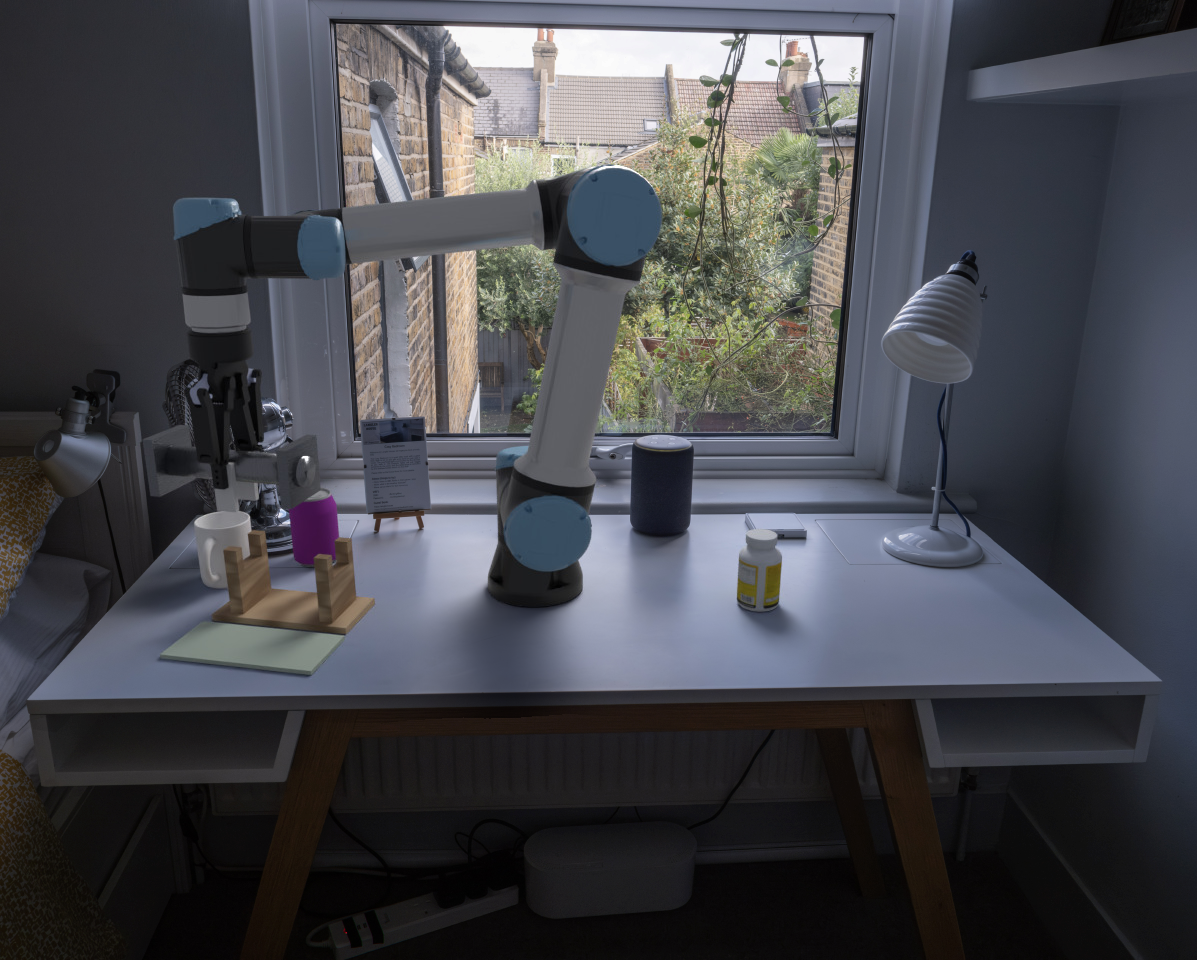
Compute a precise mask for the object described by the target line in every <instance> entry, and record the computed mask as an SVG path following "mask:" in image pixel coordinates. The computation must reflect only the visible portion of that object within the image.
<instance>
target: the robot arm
mask: <svg viewBox="0 0 1197 960" xmlns="http://www.w3.org/2000/svg"><path fill="white" fill-rule="evenodd" d="M662 211H663V210H662V205H661V201H660V199H659V197H658V194H657V192H656V190H655V189H654V187H653V185H652V184H651V183H650V182H649V180H648V179H646V177H644V176H643V175H641V174H640V173H638V172H637V171H635V170H634V169H632V168H629V167H626V166H623V165H619V164H618V165H617V164H610V163H606V164H601V165H594V166H587V167H583V168H581V169H578V170H576V171H571V172H569V173H565V174H561V175H556V176H552V177H544V178H536V179H531V181H529V183H528V185H527V186H525V187H524V188H513V189H508V190H507V189H505V190H496V191H495V190H494V191H488V192H486V191H485V192H478V193H468V194H457V195H450V196H449V195H448V196H441V197H433V198H432V197H431V198H429V197H428V198H420V199H412V200H411V199H410V200H402V201H392V202H384V203H375V204H366V205H356V206H348V207H347V206H346V207H341V208H328V209H318V210H317V209H316V210H315V209H307V210H306V209H305V210H299V211H296V212H294V213H293V214H290V215H248V214H242V211H241V209H240V205H239V203H238V201H237V200H236V199H234V198H232V197H231V198H230V197H229V198H227V197H223V198H222V197H221V198H220V197H182V198H178V199H177V200H176V201H175V202H174V204H173V207H172V212H173V213H172V214H173V229H174V230H173V232H174V236H173V241H174V244H175V249H176V250H175V251H176V257H177V263H178V271H179V272H178V273H179V277H180V286H181V293H182V300H183V301H182V302H183V310H184V311H183V312H184V320H185V324H186V325H187V327H189V328H190V329H189V330H187V331H188V332H186V340H187V341H186V342H187V349H188V356H189V358H190V359H191V360H192V361H193V362H195V363H196V364H197V365H198V373H197V383H196V384H195V385H194V386H193V387H191V386H187V387H185V388H184V391H183V395H184V396H185V399H186V401H187V404H188V406H189V412H190V413H189V414H190V419H191V425H192V433H193V439H194V445H195V446H194V447H196V453H197V460H198V462H199V463H207V464H210V466H211V471H212V479H211V480H212V485H213V489H214V495H215V505H216V512H221V511H226V512H238V511H240V505H239V500H244V501H258V500H259V499H260V496H259V488H258V483H251V482H240V481H236V476H235V467H234V463H232V462H229V450H230V437H231V436H230V430H231V432H232V436H233V439H234V444H235V447H236V450H238V451H250V452H262V451H263V444H261V443H263V442H264V440H265V432H264V421H263V420H264V416H263V407H262V406H263V405H262V394H261V393H262V392H261V383H262V378H263V377H262V374H263V372H262V370H261V369H260V368H250V367H249V364H248V363H247V360H249V359H251V358H252V357H253V356H254V343H253V335H252V334H253V333H252V330H251V329H250V328H249V327H247V325H250V323H251V321H252V319H251V313H250V303H249V295H248V287H247V279H253V280H257V279H284V280H285V279H287V280H288V279H289V280H290V279H291V280H292V279H293V280H294V279H295V280H297V279H299V280H313V281H320V280H323V279H324V280H325V279H337V278H340V277H342V276H343V275H344V273H345V269H346V266H348V265H354V264H363V263H371V262H372V263H373V262H380V261H381V262H382V261H391V260H401V259H409V258H419V257H427V256H428V257H429V256H435V255H444V254H446V255H448V254H454V253H463V252H464V253H465V252H472V251H473V252H474V251H482V250H491V249H500V248H508V247H509V248H510V247H518V246H526V245H528V246H529V245H533V246H534V247H536V248H537V249H538V250H539V251H547V250H548V251H549V250H555V252H554V257H553V261H552V265H553V267H554V269H555V271H556V272H557V273H558V274H559V276H560V280H561V281H560V287H559V291H558V295H557V301H556V307H555V312H554V316H553V322H552V327H551V332H550V336H549V342H548V347H547V352H546V357H545V362H544V367H543V372H542V378H541V382H540V387H539V392H538V397H537V402H536V406H535V412H534V418H533V421H532V428H531V431H530V432H531V433H530V438H529V441H528V445H521V446H520V445H519V446H512V447H507V448H504V449H502V450H500V451H499V452H498V453H497V454H496V458H495V467H494V471H495V475H496V476H495V479H496V480H495V481H496V485H495V486H496V515H497V517H496V518H497V523H496V524H497V544H496V548H495V550H494V554H493V558H492V560H491V563H490V567H489V570H488V574H487V590H488V593H489V594H490V595H491V596H492V597H493V598H494V599H496V600H497V601H500V602H503V603H505V604H508V605H512V606H518V607H526V608H528V607H529V608H537V607H538V608H539V607H541V608H543V607H548V606H555V605H560V604H563V603H566V602H568V601H571V600H572V599H575V598H577V596H579V594H581V592H582V591H583V588H584V574H583V570H582V567H581V564H580V561H579V560H580V559H581V558H583V556H584V554H585V553H586V552H587V550H588V548H589V546H590V544H591V540H592V534H593V533H592V532H593V530H592V526H593V524H592V519H591V517H590V509H591V507H592V506H591V505H592V500H593V496H594V491H595V486H596V482H597V476H596V475H595V473H594V472H593V471H592V469H591V468H590V465H589V463H590V459H591V453H592V450H593V449H592V447H593V444H594V441H595V440H594V439H595V435H596V431H597V427H598V421H599V416H600V412H601V408H602V405H603V404H602V402H603V400H604V399H603V398H604V394H605V390H606V384H607V380H608V376H609V371H610V367H611V362H612V358H613V353H614V349H615V348H614V347H615V343H616V339H617V335H618V330H619V325H620V321H621V315H622V311H623V308H624V303H625V297H626V294H627V293H628V292H629V291H630V290H632V289H633V288H635V287H636V286H638V285H639V284H641V280H642V275H643V271H644V267H645V262H646V258H647V254H648V253H649V252H650V251H651V250H652V248H653V247H654V245H655V243H657V239H658V238H659V235H660V232H661V228H662V223H663V222H662V221H663V212H662ZM259 443H260V444H259Z"/></svg>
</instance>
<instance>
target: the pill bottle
mask: <svg viewBox="0 0 1197 960" xmlns="http://www.w3.org/2000/svg"><path fill="white" fill-rule="evenodd" d="M745 543H746V545H744V546H743V547H741V549H740V551H739V552H738V564H737V565H738V567H737V568H738V569H737V584H736V585H737V586H736V589H737V590H736V601H737V604H738V605H739V606H740V607H741V608H743V609H745V610H748V611H751V612H760V613H762V612H771V611H772V610H775V609H776V608H777V607H778V606H779V603H780V595H781V593H780V592H781V579H782V565H783V564H782V563H783V554H782V552H781V551H780V549H778V548H777V544H778V534H777V533H776V532H775V531H774V530H771V529H767V528H754V529H749V530H748V531H747V532H746V533H745Z"/></svg>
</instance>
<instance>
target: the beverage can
mask: <svg viewBox="0 0 1197 960" xmlns="http://www.w3.org/2000/svg"><path fill="white" fill-rule="evenodd" d="M337 505H338V504H337V502H336V501H335V498H334V496H333V494H332V493H331V490H330V489H328V488H325V487H321V490H320V491H319V492H317V493H316V494H314V495H313V496H311V497H310V498H308V499H307V500H305V501H303V502H302V503H300V504H299V505H297V506H296V507H294V508H293V509H288V513H289V525H290V534H291V535H290V536H291V544H292V552H293V553H292V554H293V559H294V561H295V562H296V563H298V564H299V565H300V566H303V567H307V568H315V567H314V557H316V556H317V555H318V554H325V555H332V564H333V563H334V562H336V553H335V540H336V539H338V538H339V537H340V530H339V521H338V520H339V518H338V506H337Z"/></svg>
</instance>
